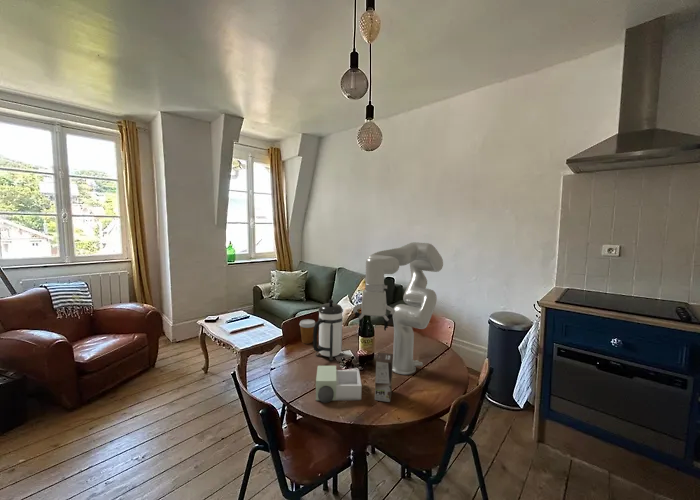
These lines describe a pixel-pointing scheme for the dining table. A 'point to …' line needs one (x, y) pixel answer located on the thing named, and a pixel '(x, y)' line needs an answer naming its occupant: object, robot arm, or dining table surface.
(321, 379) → the pale green boxy shape
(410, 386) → the dining table surface
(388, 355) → the coffee box
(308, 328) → the disposable coffee cup
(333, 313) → the coffee press
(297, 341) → the dining table surface
